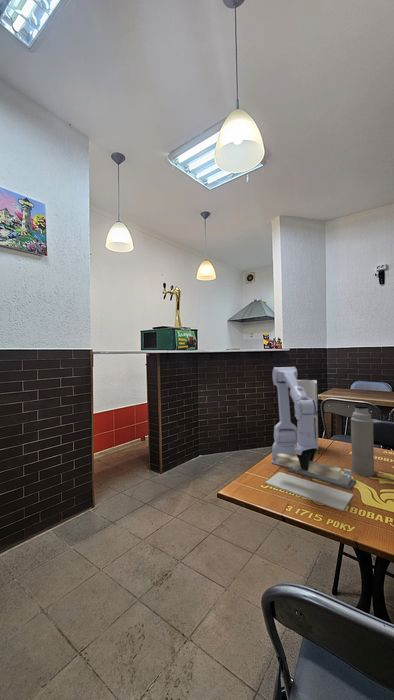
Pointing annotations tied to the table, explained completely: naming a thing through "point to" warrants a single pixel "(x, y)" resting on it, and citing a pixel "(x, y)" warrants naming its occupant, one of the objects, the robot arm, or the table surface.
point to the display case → (311, 392)
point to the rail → (310, 466)
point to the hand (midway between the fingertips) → (306, 468)
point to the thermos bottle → (362, 441)
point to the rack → (342, 482)
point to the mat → (311, 490)
